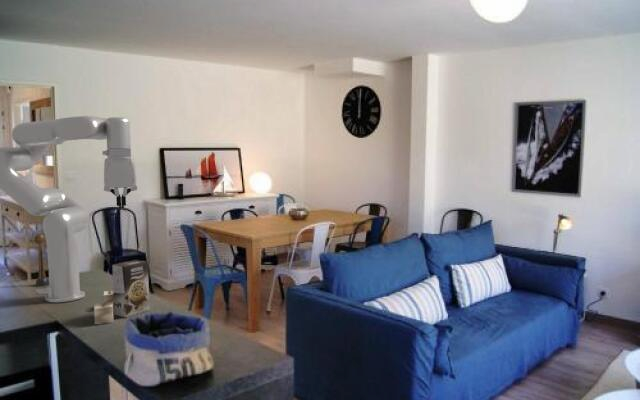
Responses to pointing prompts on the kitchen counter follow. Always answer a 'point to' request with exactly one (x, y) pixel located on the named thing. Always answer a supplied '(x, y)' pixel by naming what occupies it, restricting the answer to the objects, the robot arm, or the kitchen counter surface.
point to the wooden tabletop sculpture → (40, 261)
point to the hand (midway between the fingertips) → (121, 207)
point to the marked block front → (103, 313)
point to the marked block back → (108, 297)
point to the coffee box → (130, 288)
